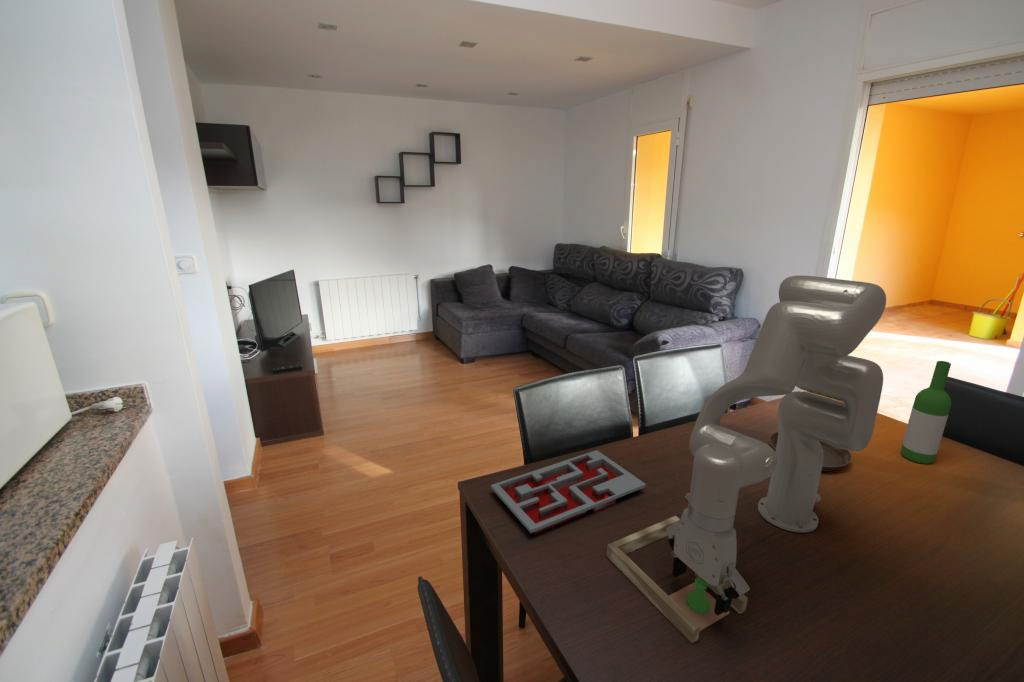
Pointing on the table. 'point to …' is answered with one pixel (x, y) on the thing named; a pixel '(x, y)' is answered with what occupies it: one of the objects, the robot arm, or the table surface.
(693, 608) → the game piece
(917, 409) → the wine bottle
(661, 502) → the table surface
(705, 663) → the table surface
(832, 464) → the plant saucer
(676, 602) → the bent track
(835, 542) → the table surface
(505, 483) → the maze game
